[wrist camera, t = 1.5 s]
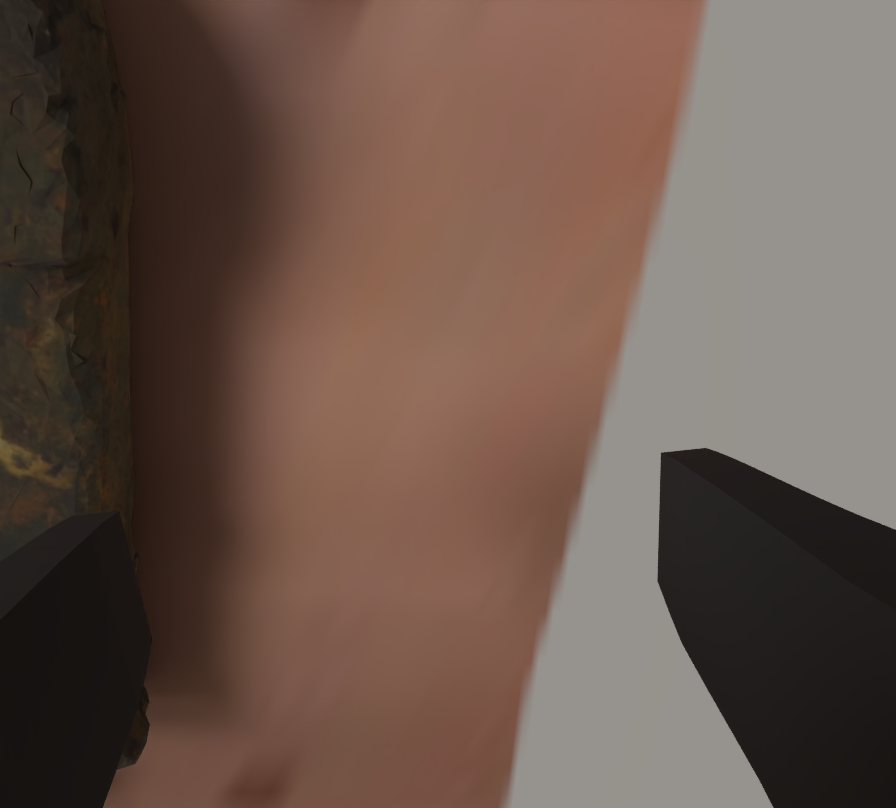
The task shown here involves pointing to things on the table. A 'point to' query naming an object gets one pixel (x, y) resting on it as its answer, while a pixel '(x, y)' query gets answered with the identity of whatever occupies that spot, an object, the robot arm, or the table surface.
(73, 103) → the brown rough log
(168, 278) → the table surface
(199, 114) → the table surface
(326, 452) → the table surface
